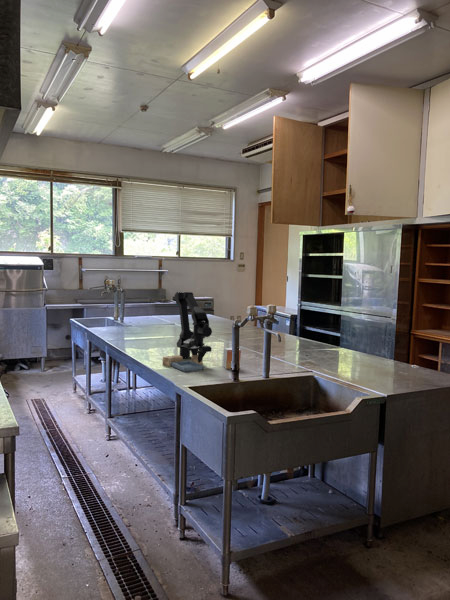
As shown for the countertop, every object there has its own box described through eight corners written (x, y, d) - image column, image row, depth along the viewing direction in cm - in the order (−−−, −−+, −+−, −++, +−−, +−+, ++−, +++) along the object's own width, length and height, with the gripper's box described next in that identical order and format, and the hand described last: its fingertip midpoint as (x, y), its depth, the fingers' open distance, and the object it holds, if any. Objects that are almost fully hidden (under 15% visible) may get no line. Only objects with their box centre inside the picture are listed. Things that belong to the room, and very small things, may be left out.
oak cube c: (162, 365, 252) (162, 357, 251) (168, 363, 255) (168, 355, 255) (168, 366, 249) (169, 358, 249) (174, 365, 253) (174, 357, 253)
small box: (225, 369, 251) (226, 349, 250) (223, 366, 256) (224, 347, 255) (240, 368, 253) (241, 349, 252) (237, 366, 258) (238, 347, 258)
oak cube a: (191, 363, 260) (191, 355, 260) (197, 362, 263) (198, 354, 263) (195, 364, 257) (196, 356, 256) (202, 364, 260) (202, 356, 259)
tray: (170, 366, 250) (171, 362, 249) (189, 364, 257) (189, 360, 256) (184, 372, 239) (184, 367, 239) (203, 369, 246) (203, 365, 246)
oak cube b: (171, 363, 257) (172, 355, 256) (179, 363, 259) (179, 355, 258) (174, 365, 253) (174, 357, 252) (182, 365, 255) (182, 356, 254)
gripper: (177, 332, 261) (175, 359, 262) (195, 337, 246) (194, 366, 248) (193, 331, 268) (192, 357, 269) (212, 336, 253) (211, 364, 254)
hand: (196, 361), depth 260 cm, fingers closed on oak cube a, 4 cm apart
